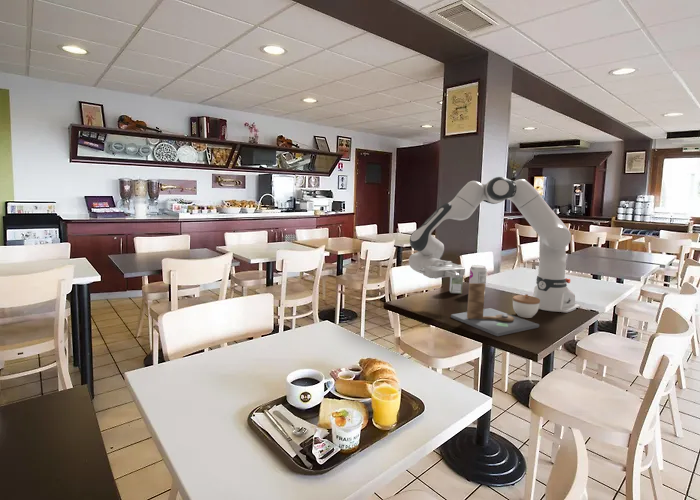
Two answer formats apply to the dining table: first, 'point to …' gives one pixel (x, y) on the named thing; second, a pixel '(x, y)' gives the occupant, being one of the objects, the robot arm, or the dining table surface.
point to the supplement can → (478, 274)
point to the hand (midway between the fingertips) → (456, 275)
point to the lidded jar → (525, 305)
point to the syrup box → (456, 284)
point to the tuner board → (496, 323)
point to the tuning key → (480, 304)
